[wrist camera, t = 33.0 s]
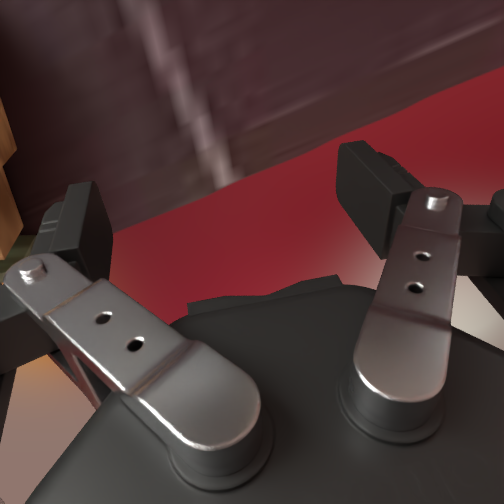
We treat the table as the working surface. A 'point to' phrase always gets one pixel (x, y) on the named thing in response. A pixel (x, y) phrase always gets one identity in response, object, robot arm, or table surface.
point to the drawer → (11, 230)
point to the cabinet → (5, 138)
